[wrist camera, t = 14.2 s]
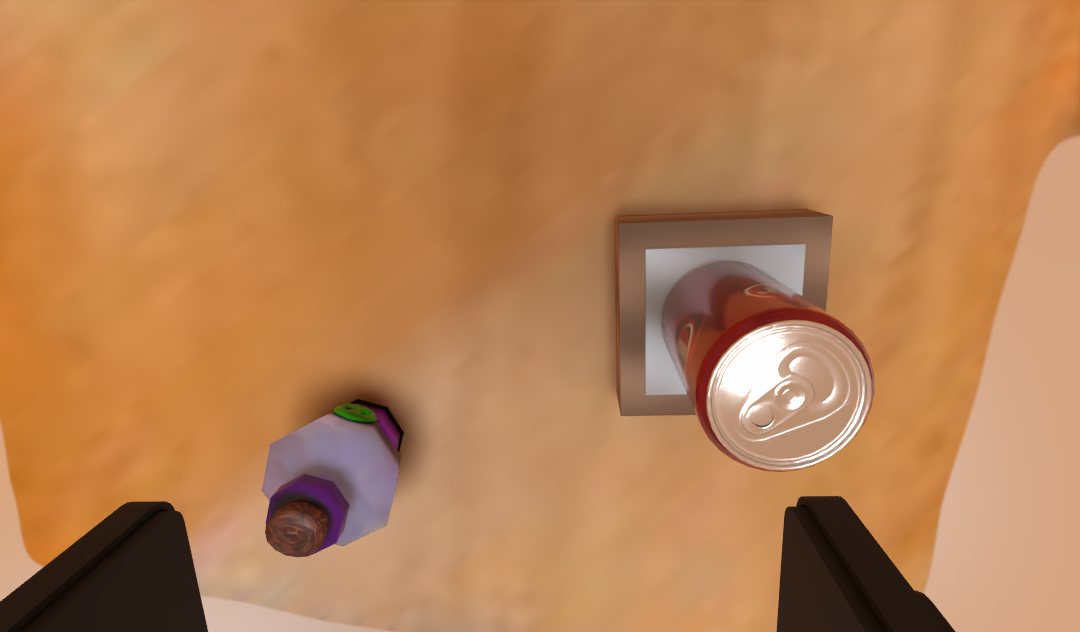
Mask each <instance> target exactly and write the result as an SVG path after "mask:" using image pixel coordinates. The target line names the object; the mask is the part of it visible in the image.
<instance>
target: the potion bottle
mask: <svg viewBox="0 0 1080 632" xmlns="http://www.w3.org/2000/svg"><path fill="white" fill-rule="evenodd" d="M403 433H404V432H403V430H402V429H401V427H400V426H399V424H398V423H397V421H396V420H395V418H394V417H393V415H392V414H391V412H390V410H389V409H388V407H384V406H381V405H377V404H374V403H370V402H367V401H363V400H360V399H357V400H355V401H353V402H351V403H345V404H342V405H339V406H336V407H335V408H334V410H333V412H331V413H329V414H327V415H325V416H323V417H321V418H319V419H317V420H315V421H313V422H311V423H309V424H307V425H305V426H304V427H302V428H300V429H298V430H296V431H294V432H292V433H290V434H288V435H287V436H285V437H283V438H281V439H279V440H277V441H275V442H273V443H272V444H270V449H269V455H268V460H267V466H266V471H265V477H264V482H263V488H262V491H263V493H264V494H265V495H266V497H267V498H268V500H269V501H270V503H269V508H268V514H267V519H266V531H265V534H266V538H267V542H268V543H269V544H270V545H271V546H272V547H273V548H274V549H275V550H277V551H278V552H280V553H282V554H284V555H287V556H293V557H306V556H309V555H312V554H315V553H317V552H319V551H321V550H323V549H325V548H327V547H329V546H331V545H333V544H336V545H340V546H345V545H347V544H349V543H351V542H353V541H355V540H357V539H359V538H361V537H363V536H365V535H368V534H370V533H372V532H374V531H376V530H378V529H380V528H382V527H384V526H386V525H387V521H388V517H389V513H390V509H391V505H392V501H393V497H394V493H395V489H396V485H397V481H398V474H399V466H400V458H401V455H400V454H399V449H400V445H401V441H402V437H403Z"/></svg>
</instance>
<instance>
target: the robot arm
mask: <svg viewBox="0 0 1080 632" xmlns="http://www.w3.org/2000/svg"><path fill="white" fill-rule="evenodd" d="M0 632H208V629H207V625H206V620H205V615H204V610H203V606H202V601H201V596H200V592H199V587H198V582H197V578H196V573H195V568H194V564H193V559H192V554H191V550H190V545H189V540H188V536H187V531H186V526H185V522H184V518H183V516H182V514H181V513H180V512H178V511H175V509H174V507H173V506H172V505H171V504H170V503H168V502H127V503H126V504H124V505H122V506H121V507H119V508H118V509H117V510H116V511H114V512H113V513H112V514H111V515H109V516H108V517H107V518H105V519H104V520H103V521H102V522H100V523H99V524H98V525H97V526H95V527H94V528H93V529H92V530H90V531H89V532H88V533H86V534H85V535H84V536H83V537H81V538H80V539H79V540H78V541H76V542H75V543H74V544H73V545H71V546H70V547H69V548H68V549H66V550H65V551H64V552H62V553H61V554H60V555H59V556H57V557H56V558H55V559H54V560H52V561H51V562H50V563H49V564H47V565H46V566H45V567H43V568H42V569H41V570H40V571H38V572H37V573H36V574H35V575H33V576H32V577H31V578H30V579H28V580H27V581H26V582H25V583H24V584H22V585H21V586H20V587H18V588H17V589H16V590H15V591H13V592H12V593H11V594H9V595H8V596H7V597H6V598H4V599H3V600H2V601H0ZM777 632H955V631H954V629H953V628H952V627H951V626H950V624H949V623H948V622H947V620H946V619H945V618H944V617H943V615H942V614H941V613H940V611H939V610H938V609H937V608H936V606H935V605H934V604H933V603H932V601H931V600H930V599H929V598H928V597H927V596H926V595H925V594H923V593H921V592H918V591H914V590H913V589H912V587H911V586H910V585H909V583H908V582H907V581H906V579H905V578H904V577H903V575H902V574H901V573H900V571H899V570H898V569H897V568H896V566H895V565H894V564H893V562H892V561H891V560H890V558H889V557H888V556H887V554H886V553H885V552H884V551H883V549H882V548H881V547H880V545H879V544H878V543H877V541H876V540H875V539H874V537H873V536H872V535H871V533H870V532H869V531H868V530H867V528H866V527H865V526H864V524H863V523H862V522H861V520H860V519H859V518H858V516H857V515H856V514H855V512H854V511H853V510H852V509H851V507H850V506H849V505H848V503H847V502H846V501H845V500H844V499H843V498H842V497H839V496H804V497H800V498H799V499H798V502H797V506H796V507H787V508H786V511H785V516H784V529H783V545H782V560H781V575H780V590H779V605H778V620H777Z"/></svg>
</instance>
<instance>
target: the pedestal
mask: <svg viewBox="0 0 1080 632" xmlns="http://www.w3.org/2000/svg"><path fill="white" fill-rule="evenodd" d="M832 221H833V216H831V215H827V214H823V213H820V212H816V211H812V210H809V209H801V210H773V211H746V212H718V213H691V214H664V215H636V216H615V272H616V362H617V396H618V402H619V408H620V414H621V416H651V415H696V413H695V411H694V408H693V406H692V404H691V402H690V399H689V397H688V395H687V393H686V391H685V388H684V386H683V384H682V382H681V379H680V377H679V375H678V373H677V371H676V368H675V366H674V364H673V362H672V359H671V357H670V355H669V353H668V351H667V348H666V345H665V342H664V339H663V335H662V326H661V325H662V315H663V310H664V307H665V304H666V301H667V299H668V297H669V296H670V294H671V292H672V290H673V289H674V288H675V287H676V285H677V284H678V283H679V282H680V281H681V280H682V279H683V278H684V277H686V276H687V275H688V274H689V273H691V272H693V271H694V270H696V269H698V268H700V267H702V266H705V265H708V264H711V263H715V262H722V261H737V262H742V263H746V264H750V265H753V266H755V267H757V268H759V269H761V270H763V271H765V272H766V273H768V274H769V275H771V276H772V277H774V278H775V279H777V280H778V281H780V282H781V283H783V284H784V285H786V286H787V287H789V288H790V289H792V290H793V291H795V292H796V293H798V294H799V295H801V296H802V297H804V298H805V299H807V300H808V301H810V302H811V303H813V304H814V305H816V306H818V307H819V308H821V309H822V310H824V311H826V298H827V285H828V272H829V260H830V247H831V234H832Z"/></svg>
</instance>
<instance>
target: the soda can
mask: <svg viewBox="0 0 1080 632" xmlns="http://www.w3.org/2000/svg"><path fill="white" fill-rule="evenodd" d="M661 326H662V335H663V339H664V342H665V345H666V348H667V351H668V353H669V355H670V357H671V359H672V362H673V364H674V366H675V368H676V371H677V373H678V375H679V377H680V379H681V382H682V384H683V386H684V388H685V391H686V393H687V395H688V397H689V399H690V402H691V404H692V406H693V408H694V411H695V413H696V415H697V417H698V419H699V422H700V424H701V426H702V428H703V429H704V431H705V433H706V434H707V436H708V438H709V439H710V440H711V441H712V442H713V444H714V445H715V446H716V447H717V448H718V449H719V450H720V451H721V452H723V453H724V454H726V455H727V456H728V457H730V458H731V459H733V460H735V461H737V462H739V463H741V464H744V465H746V466H748V467H752V468H756V469H760V470H764V471H776V472H785V471H794V470H800V469H804V468H807V467H811V466H814V465H816V464H818V463H820V462H823V461H825V460H827V459H829V458H831V457H832V456H833V455H835V454H836V453H838V452H839V451H840V450H842V449H843V448H844V447H845V446H846V445H847V444H848V443H849V442H850V441H851V440H852V439H853V438H854V437H855V436H856V435H857V433H858V432H859V430H860V429H861V427H862V426H863V424H864V423H865V421H866V418H867V416H868V413H869V411H870V409H871V405H872V400H873V395H874V373H873V369H872V365H871V361H870V357H869V355H868V353H867V352H866V350H865V348H864V346H863V344H862V342H861V341H860V340H859V339H858V338H857V336H856V335H855V334H854V333H853V332H852V330H850V329H849V328H848V327H846V326H845V325H844V324H843V323H841V322H840V321H839V320H837V319H836V318H834V317H833V316H831V315H830V314H828V313H827V312H825V311H824V310H822V309H821V308H819V307H818V306H816V305H814V304H813V303H811V302H810V301H808V300H807V299H805V298H804V297H802V296H801V295H799V294H798V293H796V292H795V291H793V290H792V289H790V288H789V287H787V286H786V285H784V284H783V283H781V282H780V281H778V280H777V279H775V278H774V277H772V276H771V275H769V274H768V273H766V272H765V271H763V270H761V269H759V268H757V267H755V266H753V265H750V264H746V263H742V262H737V261H722V262H715V263H711V264H708V265H705V266H702V267H700V268H698V269H696V270H694V271H693V272H691V273H689V274H688V275H687V276H686V277H684V278H683V279H682V280H681V281H680V282H679V283H678V284H677V285H676V287H675V288H674V289H673V290H672V292H671V294H670V296H669V297H668V299H667V301H666V304H665V307H664V310H663V315H662V325H661Z"/></svg>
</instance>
